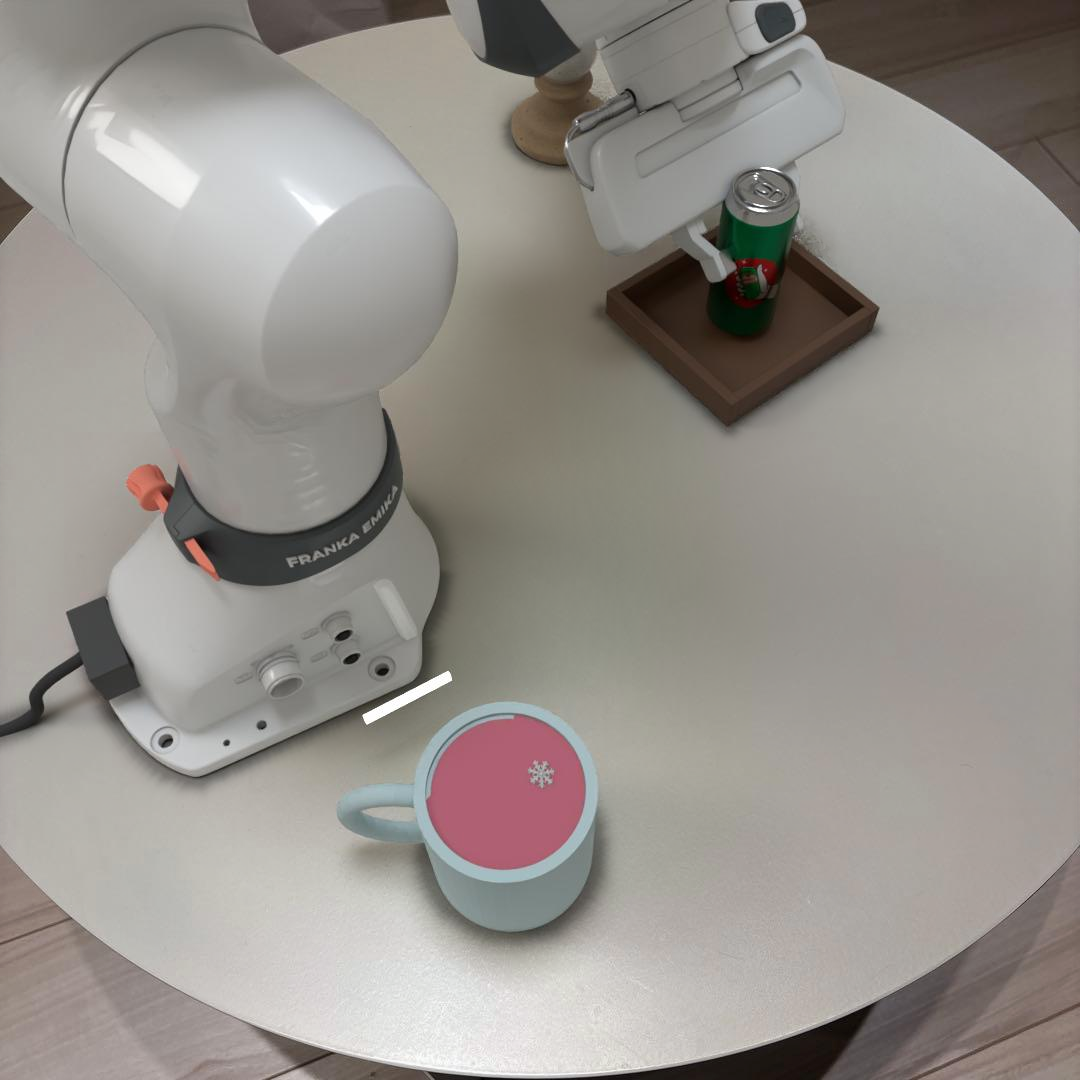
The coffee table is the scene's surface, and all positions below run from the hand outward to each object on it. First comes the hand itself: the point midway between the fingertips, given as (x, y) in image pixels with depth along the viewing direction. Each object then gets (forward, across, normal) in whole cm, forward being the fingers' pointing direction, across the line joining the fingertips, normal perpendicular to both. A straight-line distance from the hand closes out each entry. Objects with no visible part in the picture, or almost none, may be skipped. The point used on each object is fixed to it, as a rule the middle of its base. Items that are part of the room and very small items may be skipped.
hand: (758, 256), depth 79 cm
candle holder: (-13, +3, +23) cm, 27 cm away
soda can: (+4, 0, +5) cm, 7 cm away
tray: (+5, 0, +5) cm, 7 cm away
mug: (+19, -39, -9) cm, 44 cm away
